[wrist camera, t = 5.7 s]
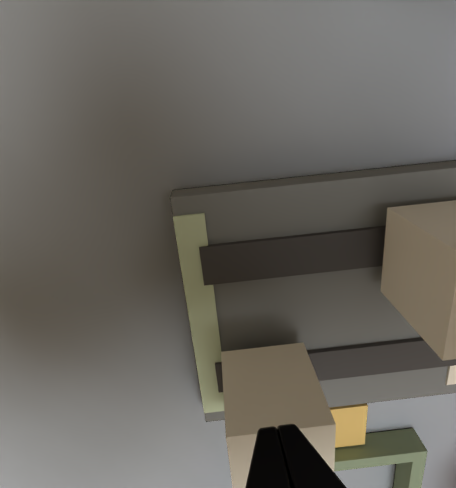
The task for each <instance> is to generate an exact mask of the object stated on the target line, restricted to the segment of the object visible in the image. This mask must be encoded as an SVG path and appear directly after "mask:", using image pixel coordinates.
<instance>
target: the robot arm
mask: <svg viewBox="0 0 456 488" xmlns="http://www.w3.org/2000/svg"><path fill="white" fill-rule="evenodd" d="M245 488H346V487H345V485H344V484H343V483H342V482H341V480H340V479H339V478H338V477H337V475H336V474H335V473H334V472H333V470H332V469H331V468H330V467H329V465H328V464H327V463H326V462H325V460H324V459H323V458H322V457H321V455H320V454H319V453H318V452H317V450H316V449H315V448H314V447H313V445H312V444H311V443H310V442H309V441H308V439H307V438H306V437H305V436H304V434H303V433H302V432H301V431H300V429H299V428H298V427H297V426H296V425H295V424H285V425H279V426H278V427H277V428H276V427H274V426H270V427H263V428H260V429H259V430H258V432H257V436H256V441H255V446H254V450H253V455H252V459H251V464H250V469H249V473H248V478H247V482H246V487H245Z"/></svg>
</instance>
